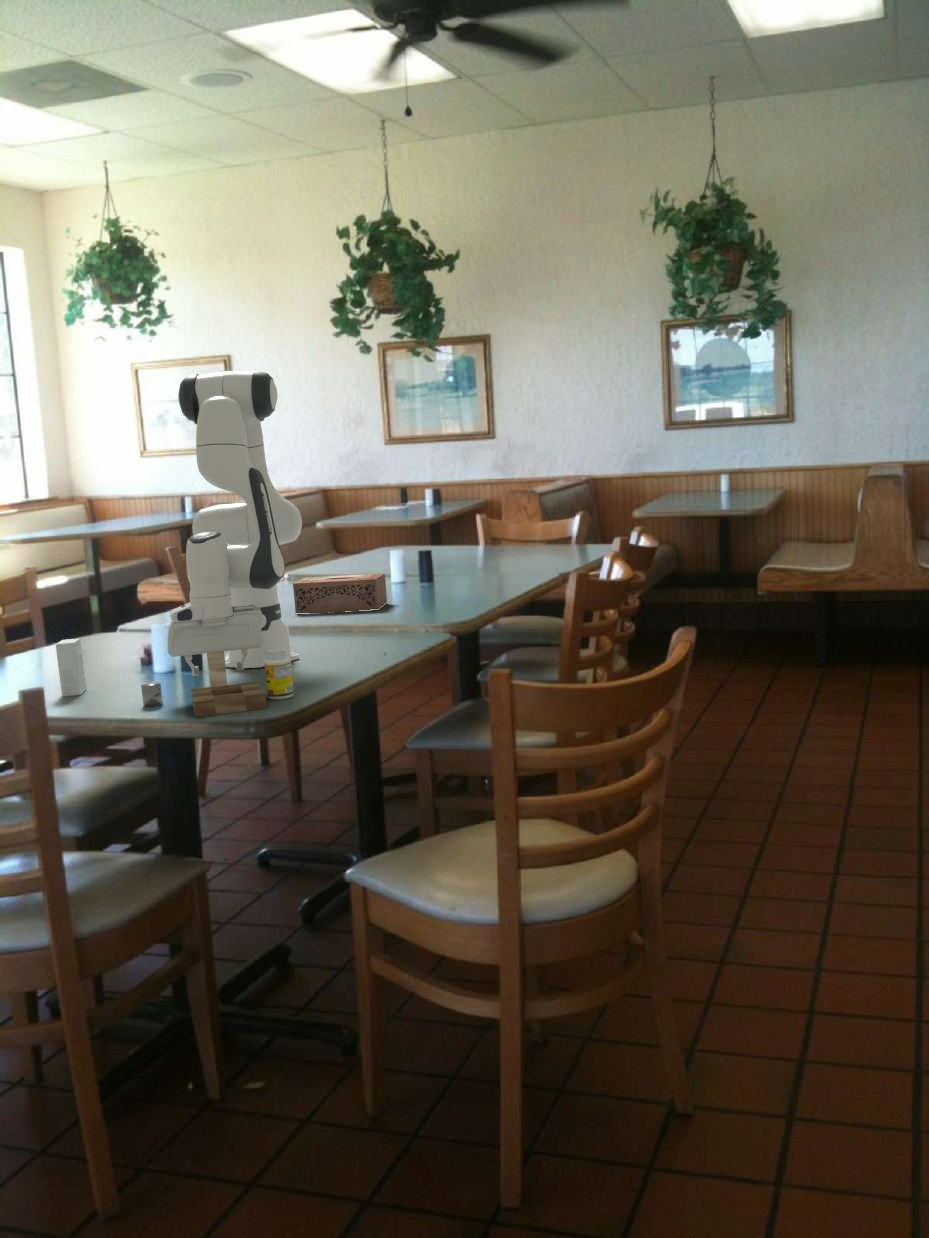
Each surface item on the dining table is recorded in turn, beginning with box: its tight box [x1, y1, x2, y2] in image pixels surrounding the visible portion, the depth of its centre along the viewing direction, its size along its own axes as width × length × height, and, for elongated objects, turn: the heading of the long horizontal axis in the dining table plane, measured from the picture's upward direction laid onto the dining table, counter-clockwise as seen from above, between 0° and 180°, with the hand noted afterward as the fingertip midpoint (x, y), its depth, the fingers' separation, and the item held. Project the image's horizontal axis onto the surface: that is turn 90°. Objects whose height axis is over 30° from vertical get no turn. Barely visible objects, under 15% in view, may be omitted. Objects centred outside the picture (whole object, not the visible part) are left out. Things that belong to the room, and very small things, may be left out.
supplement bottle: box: [264, 648, 295, 701], centre depth 263 cm, size 6×6×10 cm
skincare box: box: [55, 638, 87, 697], centre depth 282 cm, size 6×4×12 cm
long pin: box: [206, 651, 228, 687], centre depth 270 cm, size 4×4×11 cm
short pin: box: [140, 681, 164, 708], centre depth 264 cm, size 4×4×4 cm
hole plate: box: [190, 681, 267, 718], centre depth 258 cm, size 14×14×3 cm
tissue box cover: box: [292, 572, 388, 614], centre depth 389 cm, size 26×14×10 cm, turn 83°
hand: (218, 672), depth 269 cm, fingers open, 8 cm apart
